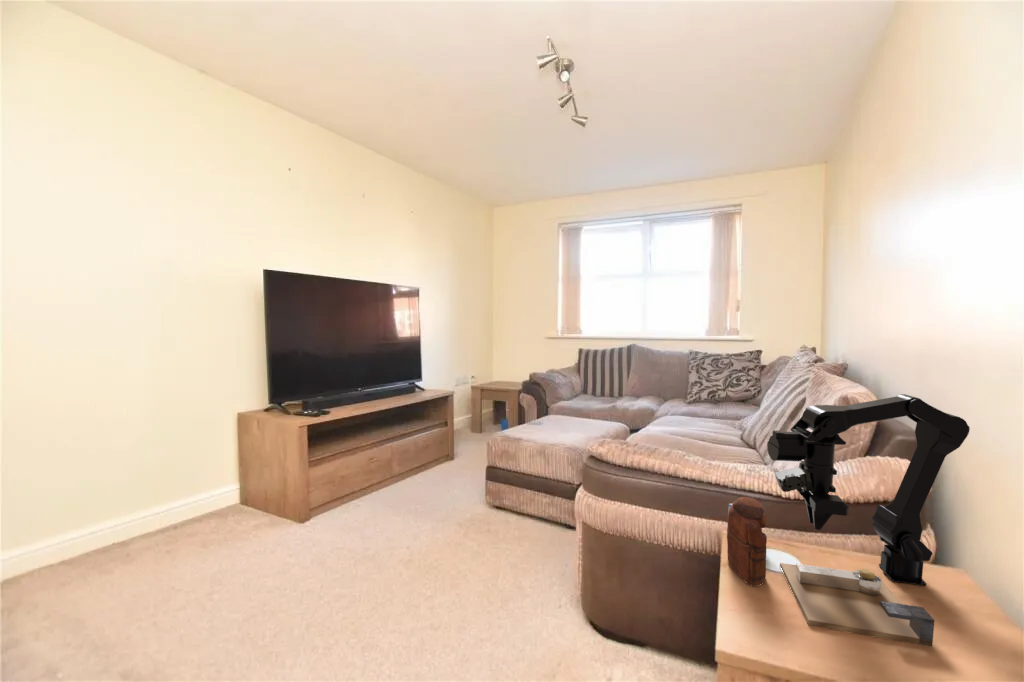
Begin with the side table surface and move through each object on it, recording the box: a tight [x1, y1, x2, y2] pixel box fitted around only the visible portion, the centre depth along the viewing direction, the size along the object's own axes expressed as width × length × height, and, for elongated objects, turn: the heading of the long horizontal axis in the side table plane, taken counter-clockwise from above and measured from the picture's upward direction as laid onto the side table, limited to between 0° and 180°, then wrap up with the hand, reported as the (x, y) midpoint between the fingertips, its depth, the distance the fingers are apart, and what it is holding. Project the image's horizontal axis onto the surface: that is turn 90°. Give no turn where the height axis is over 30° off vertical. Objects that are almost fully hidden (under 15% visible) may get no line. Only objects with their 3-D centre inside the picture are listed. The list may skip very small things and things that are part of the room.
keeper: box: [880, 601, 935, 648], centre depth 86 cm, size 7×4×5 cm, turn 73°
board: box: [779, 562, 934, 648], centre depth 96 cm, size 20×20×5 cm
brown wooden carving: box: [726, 496, 768, 587], centre depth 106 cm, size 12×6×18 cm, turn 4°
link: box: [795, 563, 881, 596], centre depth 100 cm, size 15×5×3 cm, turn 73°
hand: (814, 526), depth 106 cm, fingers open, 3 cm apart
